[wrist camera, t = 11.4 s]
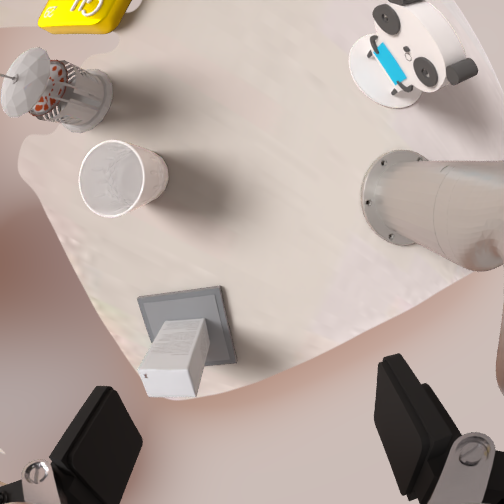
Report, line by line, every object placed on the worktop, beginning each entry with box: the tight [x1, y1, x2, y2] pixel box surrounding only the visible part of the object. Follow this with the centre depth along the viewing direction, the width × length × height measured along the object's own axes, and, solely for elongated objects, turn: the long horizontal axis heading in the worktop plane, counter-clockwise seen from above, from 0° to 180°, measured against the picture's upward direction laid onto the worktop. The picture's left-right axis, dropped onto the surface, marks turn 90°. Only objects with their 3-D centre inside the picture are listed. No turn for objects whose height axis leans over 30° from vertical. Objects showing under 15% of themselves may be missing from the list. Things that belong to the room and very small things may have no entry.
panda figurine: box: [349, 0, 478, 108], centre depth 25 cm, size 12×11×15 cm
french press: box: [0, 47, 113, 133], centre depth 22 cm, size 10×12×25 cm
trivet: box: [137, 286, 237, 366], centre depth 42 cm, size 12×12×1 cm
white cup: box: [79, 140, 169, 218], centre depth 32 cm, size 8×8×10 cm
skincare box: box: [137, 318, 210, 397], centre depth 36 cm, size 6×4×12 cm
